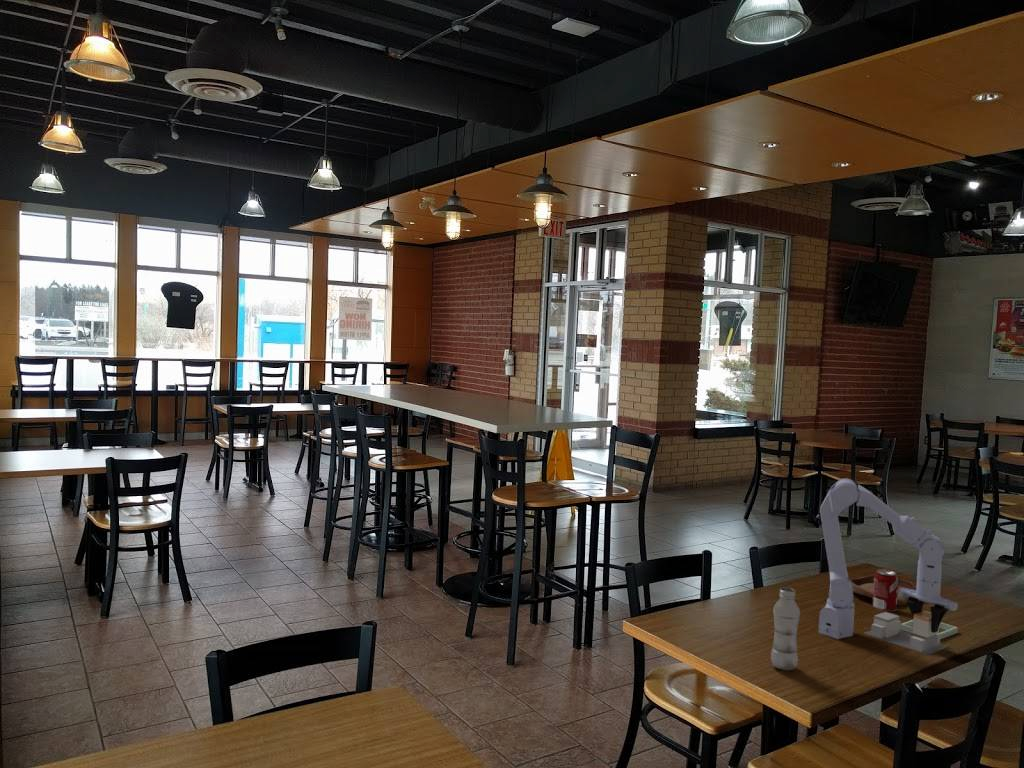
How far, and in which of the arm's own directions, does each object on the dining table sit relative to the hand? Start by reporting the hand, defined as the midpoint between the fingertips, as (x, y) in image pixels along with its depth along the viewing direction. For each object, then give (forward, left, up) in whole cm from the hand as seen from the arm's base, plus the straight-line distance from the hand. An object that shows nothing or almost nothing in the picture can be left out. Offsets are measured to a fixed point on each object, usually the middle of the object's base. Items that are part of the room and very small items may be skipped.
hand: (925, 628), depth 206 cm
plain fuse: (0, +11, -5) cm, 12 cm away
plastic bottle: (-45, +12, -6) cm, 47 cm away
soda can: (+22, +23, -6) cm, 33 cm away
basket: (+34, +31, -6) cm, 47 cm away
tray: (+13, +5, -6) cm, 15 cm away
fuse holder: (0, +5, -6) cm, 8 cm away
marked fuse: (0, 0, -1) cm, 1 cm away
